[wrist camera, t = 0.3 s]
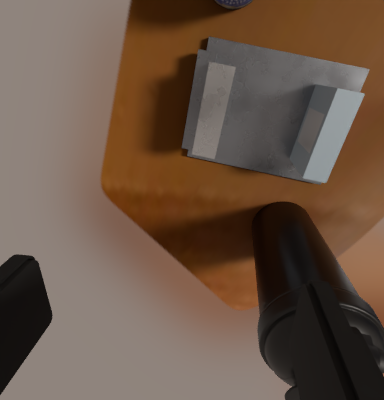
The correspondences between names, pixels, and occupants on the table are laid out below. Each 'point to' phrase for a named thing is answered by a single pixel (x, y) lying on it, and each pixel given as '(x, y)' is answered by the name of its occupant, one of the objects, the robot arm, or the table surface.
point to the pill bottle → (233, 3)
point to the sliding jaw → (324, 131)
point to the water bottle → (299, 285)
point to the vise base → (256, 104)
